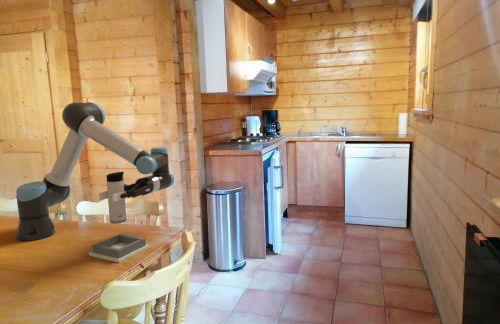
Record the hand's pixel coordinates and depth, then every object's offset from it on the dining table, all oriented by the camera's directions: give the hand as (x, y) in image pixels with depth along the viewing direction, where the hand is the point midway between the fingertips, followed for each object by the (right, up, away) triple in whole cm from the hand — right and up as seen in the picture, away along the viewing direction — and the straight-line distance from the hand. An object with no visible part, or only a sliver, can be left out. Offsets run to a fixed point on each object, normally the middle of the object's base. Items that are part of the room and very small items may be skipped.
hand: (106, 197), depth 142 cm
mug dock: (+4, -22, +5) cm, 23 cm away
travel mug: (+2, -10, +6) cm, 12 cm away
